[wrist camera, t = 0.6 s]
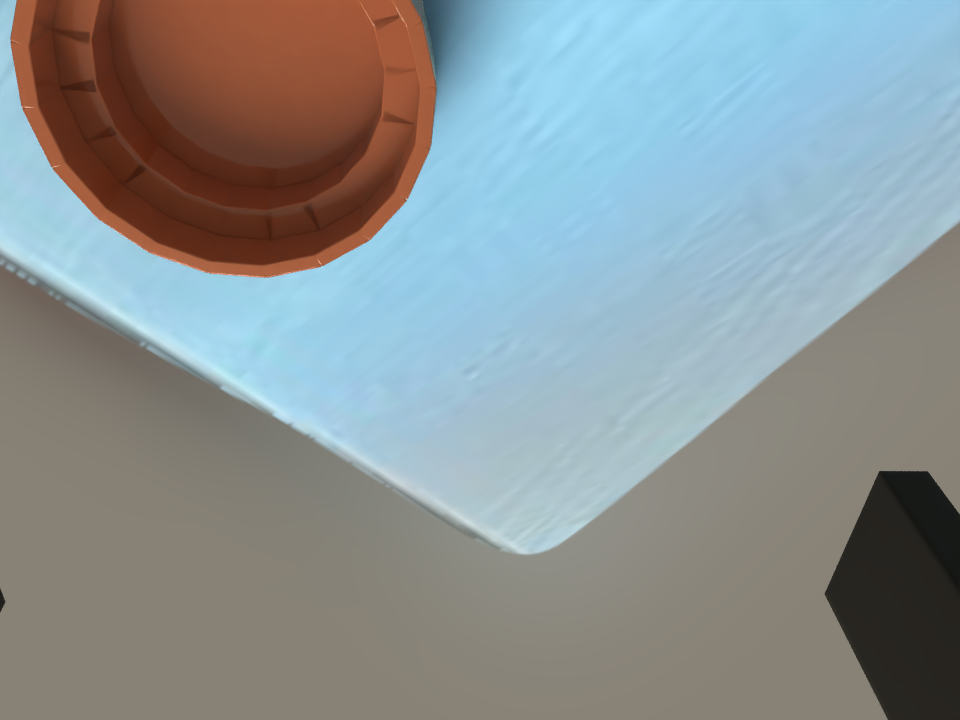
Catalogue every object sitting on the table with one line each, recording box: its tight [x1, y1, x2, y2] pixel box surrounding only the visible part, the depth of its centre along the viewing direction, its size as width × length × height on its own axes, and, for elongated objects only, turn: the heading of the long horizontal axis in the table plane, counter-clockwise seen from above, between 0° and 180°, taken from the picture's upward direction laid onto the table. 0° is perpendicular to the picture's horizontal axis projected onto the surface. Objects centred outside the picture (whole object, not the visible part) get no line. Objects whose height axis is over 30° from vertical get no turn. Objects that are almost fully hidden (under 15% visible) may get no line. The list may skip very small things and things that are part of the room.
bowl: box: [10, 0, 437, 278], centre depth 32 cm, size 14×14×5 cm
